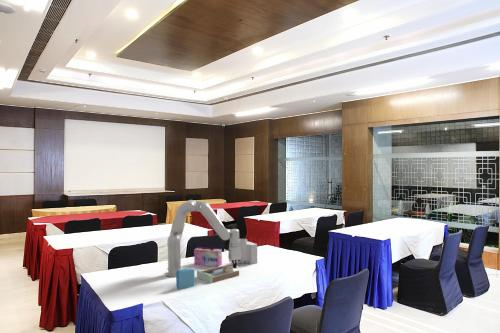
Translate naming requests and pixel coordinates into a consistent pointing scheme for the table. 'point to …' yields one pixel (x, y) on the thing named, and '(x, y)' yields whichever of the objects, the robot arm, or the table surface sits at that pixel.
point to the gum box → (208, 257)
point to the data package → (185, 278)
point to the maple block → (227, 268)
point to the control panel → (248, 252)
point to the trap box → (216, 274)
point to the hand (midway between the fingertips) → (234, 267)
